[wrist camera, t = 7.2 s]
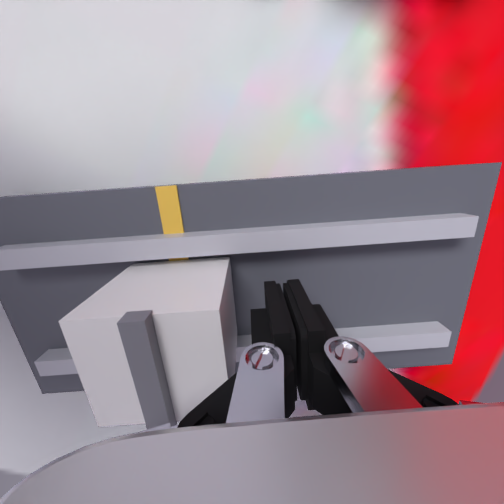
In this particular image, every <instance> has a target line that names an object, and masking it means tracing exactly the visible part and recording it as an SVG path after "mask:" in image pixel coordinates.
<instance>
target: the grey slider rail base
mask: <svg viewBox="0 0 504 504" xmlns="http://www.w3.org/2000/svg"><path fill="white" fill-rule="evenodd" d="M501 164H502V162H500V163H482V164H463V165H446V166H432V167H418V168H403V169H389V170H375V171H360V172H346V173H332V174H318V175H303V176H289V177H275V178H260V179H246V180H232V181H218V182H203V183H189V184H175V185H160V186H146V187H132V188H118V189H103V190H89V191H75V192H60V193H46V194H32V195H18V196H5V197H0V301H1V303H2V305H3V308H4V310H5V312H6V314H7V316H8V319H9V321H10V323H11V325H12V327H13V330H14V332H15V334H16V336H17V338H18V341H19V343H20V345H21V347H22V350H23V352H24V354H25V356H26V358H27V361H28V363H29V365H30V367H31V369H32V372H33V374H34V376H35V378H36V380H37V383H38V385H39V387H40V389H41V391H42V394H45V393H58V392H72V391H85V390H84V388H83V385H82V382H81V380H80V377H79V374H78V372H77V369H76V366H75V364H74V361H73V359H72V356H71V353H70V351H69V348H68V345H67V343H66V340H65V337H64V335H63V332H62V329H61V327H60V324H59V322H58V321H59V320H61V319H62V318H63V317H64V316H66V315H67V314H68V313H70V312H71V311H72V310H73V309H75V308H76V307H77V306H79V305H80V304H81V303H83V302H84V301H85V300H86V299H88V298H89V297H90V296H92V295H93V294H94V293H95V292H97V291H98V290H99V289H101V288H102V287H103V286H105V285H106V284H107V283H108V282H110V281H111V280H112V279H114V278H115V277H116V276H118V275H119V274H120V273H121V272H123V271H124V270H125V269H127V268H128V267H129V266H130V265H132V264H136V263H150V262H164V261H178V260H192V259H206V258H220V257H230V265H231V274H232V284H233V294H234V304H235V314H236V323H237V348H236V366H235V373H236V372H237V371H238V367H239V362H240V358H241V355H242V353H243V351H244V350H245V349H246V348H247V347H248V346H250V345H252V339H251V312H250V309H260V308H265V292H264V282H265V281H275V282H276V284H277V283H280V285H281V288H282V291H283V283H287V280H291V279H299V280H300V282H301V284H302V286H303V288H304V290H305V292H306V294H307V296H308V298H309V300H310V302H311V304H320V305H321V306H322V308H323V310H324V312H325V313H326V315H327V317H328V318H329V320H330V322H331V324H332V325H333V327H334V329H335V330H336V332H337V334H338V336H344V337H350V338H353V339H356V340H358V341H359V342H361V343H362V344H364V345H365V346H366V347H367V348H368V349H369V350H370V351H371V352H372V353H373V354H374V356H375V357H376V358H377V359H378V360H379V361H380V362H381V363H382V364H383V365H384V366H385V367H386V368H387V369H389V368H403V367H416V366H430V365H444V364H452V360H453V356H454V352H455V348H456V344H457V340H458V336H459V332H460V328H461V324H462V320H463V316H464V312H465V308H466V304H467V300H468V296H469V292H470V288H471V284H472V280H473V276H474V272H475V268H476V264H477V260H478V256H479V252H480V248H481V244H482V240H483V236H484V232H485V228H486V224H487V220H488V216H489V212H490V208H491V204H492V200H493V196H494V192H495V188H496V184H497V180H498V176H499V172H500V168H501Z"/></svg>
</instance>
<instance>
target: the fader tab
mask: <svg viewBox="0 0 504 504" xmlns="http://www.w3.org/2000/svg"><path fill="white" fill-rule="evenodd" d="M58 322H59V324H60V327H61V329H62V332H63V335H64V337H65V340H66V343H67V345H68V348H69V351H70V353H71V356H72V359H73V361H74V364H75V366H76V369H77V372H78V374H79V377H80V380H81V382H82V385H83V388H84V390H85V393H86V396H87V398H88V401H89V403H90V406H91V409H92V411H93V414H94V417H95V419H96V422H97V425H98V427H107V426H121V425H135V424H146V427H147V430H148V429H151V428H154V427H158V426H161V425H164V424H167V423H170V425H171V427H172V426H175V425H177V421H181V420H182V419H183V418H184V417H185V416H186V415H187V414H188V413H189V412H190V411H191V410H193V409H194V408H195V407H196V406H197V405H198V404H200V403H201V402H202V401H203V400H204V399H206V398H207V397H208V396H209V395H210V394H211V393H213V392H214V391H215V390H216V389H217V388H218V387H220V386H221V385H222V384H223V383H224V382H226V381H227V380H228V379H229V378H230V377H231V376H233V375H234V374H235V366H236V348H237V323H236V314H235V304H234V294H233V284H232V274H231V265H230V257H220V258H206V259H192V260H178V261H164V262H150V263H136V264H132V265H130V266H129V267H128V268H127V269H125V270H124V271H123V272H121V273H120V274H119V275H118V276H116V277H115V278H114V279H112V280H111V281H110V282H108V283H107V284H106V285H105V286H103V287H102V288H101V289H99V290H98V291H97V292H95V293H94V294H93V295H92V296H90V297H89V298H88V299H86V300H85V301H84V302H83V303H81V304H80V305H79V306H77V307H76V308H75V309H73V310H72V311H71V312H70V313H68V314H67V315H66V316H64V317H63V318H62V319H61V320H59V321H58Z"/></svg>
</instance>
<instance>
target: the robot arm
mask: <svg viewBox="0 0 504 504" xmlns="http://www.w3.org/2000/svg"><path fill="white" fill-rule="evenodd" d="M264 292H265V308H260V309H250V312H251V339H252V345H250V346H248V347H247V348H246V349H245V350H244V351H243V353H242V355H241V358H240V362H239V367H238V371H237V372H236V373H235V374H234V375H233V376H231V377H230V378H229V379H228V380H227V381H226V382H224V383H223V384H222V385H221V386H220V387H218V388H217V389H216V390H215V391H214V392H213V393H211V394H210V395H209V396H208V397H207V398H206V399H204V400H203V401H202V402H201V403H200V404H198V405H197V406H196V407H195V408H194V409H193V410H191V411H190V412H189V413H188V414H187V415H186V416H185V417H184V418H183V419H182V420H181V421H180V423H179V424H178V425H175V426H172V427H171V425H170V423H167V424H164V425H161V426H158V427H154V428H151V429H148V430H144V431H141V432H138V433H133V434H128V435H123V436H119V437H114V438H110V439H106V440H103V441H100V442H97V443H94V444H91V445H88V446H85V447H82V448H80V449H78V450H76V451H73V452H71V453H69V454H66V455H64V456H62V457H60V458H57V459H56V460H54V461H52V462H50V463H48V464H46V465H44V466H43V467H41V468H39V469H38V470H36V471H34V472H33V473H31V474H29V475H28V476H27V477H25V478H24V479H23V480H21V481H20V482H19V483H17V484H16V485H15V486H14V487H12V488H11V489H10V490H9V491H8V492H7V493H6V494H5V495H4V496H3V497H2V498H0V504H504V402H500V403H479V402H471V401H463V400H460V401H459V404H457V403H456V402H455V401H453V400H452V399H450V398H448V397H446V396H445V395H443V394H441V393H439V392H436V391H434V390H432V389H430V388H427V387H425V386H423V385H421V384H419V383H416V382H414V381H412V380H410V379H408V378H405V377H403V376H401V375H399V374H396V373H394V372H392V371H390V370H388V369H387V368H386V367H385V366H384V365H383V364H382V363H381V362H380V361H379V360H378V359H377V358H376V357H375V356H374V354H373V353H372V352H371V351H370V350H369V349H368V348H367V347H366V346H365V345H364V344H362V343H361V342H359V341H358V340H356V339H353V338H350V337H344V336H338V334H337V332H336V330H335V329H334V327H333V325H332V324H331V322H330V320H329V318H328V317H327V315H326V313H325V312H324V310H323V308H322V306H321V305H320V304H311V302H310V300H309V298H308V296H307V294H306V292H305V290H304V288H303V286H302V284H301V282H300V280H299V279H291V280H287V283H283V291H282V288H281V285H280V283H277V284H276V282H275V281H265V282H264ZM297 387H298V392H299V396H300V399H301V400H306V403H307V407H308V410H317V411H318V412H320V413H321V414H322V415H319V416H306V417H294V418H289V416H290V415H291V414H292V413H293V411H294V410H295V401H297Z"/></svg>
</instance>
